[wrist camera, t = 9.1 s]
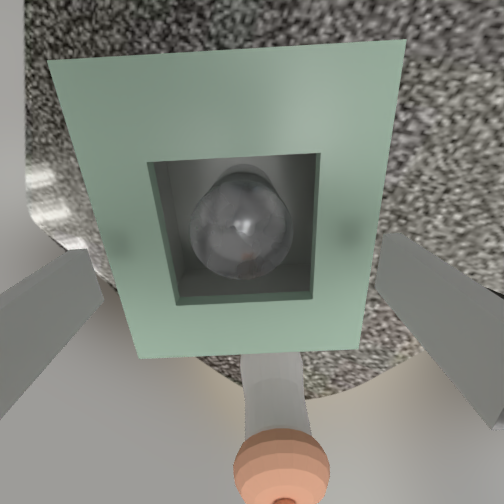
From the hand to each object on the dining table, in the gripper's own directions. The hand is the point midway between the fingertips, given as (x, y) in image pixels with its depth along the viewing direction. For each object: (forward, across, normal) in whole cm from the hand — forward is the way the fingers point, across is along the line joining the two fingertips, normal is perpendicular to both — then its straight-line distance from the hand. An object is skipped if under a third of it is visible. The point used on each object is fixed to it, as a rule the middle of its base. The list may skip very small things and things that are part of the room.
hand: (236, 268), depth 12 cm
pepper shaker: (+17, +2, -17) cm, 24 cm away
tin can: (+16, 0, 0) cm, 16 cm away
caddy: (+17, 0, 0) cm, 17 cm away
